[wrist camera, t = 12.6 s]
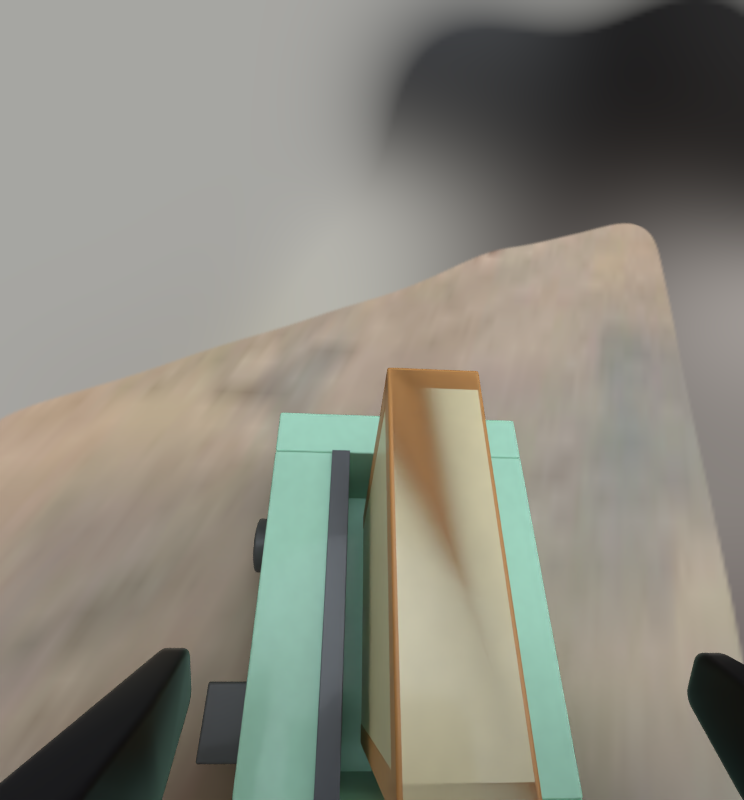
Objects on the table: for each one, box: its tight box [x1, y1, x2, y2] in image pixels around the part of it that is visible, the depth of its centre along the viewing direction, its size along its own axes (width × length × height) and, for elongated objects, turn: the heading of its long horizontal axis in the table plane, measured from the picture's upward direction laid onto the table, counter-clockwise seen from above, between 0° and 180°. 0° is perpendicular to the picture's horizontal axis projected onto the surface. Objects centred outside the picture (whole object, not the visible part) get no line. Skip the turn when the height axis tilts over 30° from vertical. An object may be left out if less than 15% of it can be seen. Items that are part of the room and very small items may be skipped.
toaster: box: [196, 413, 582, 800], centre depth 15 cm, size 12×10×5 cm
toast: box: [361, 368, 542, 800], centre depth 12 cm, size 8×2×10 cm, turn 0°
